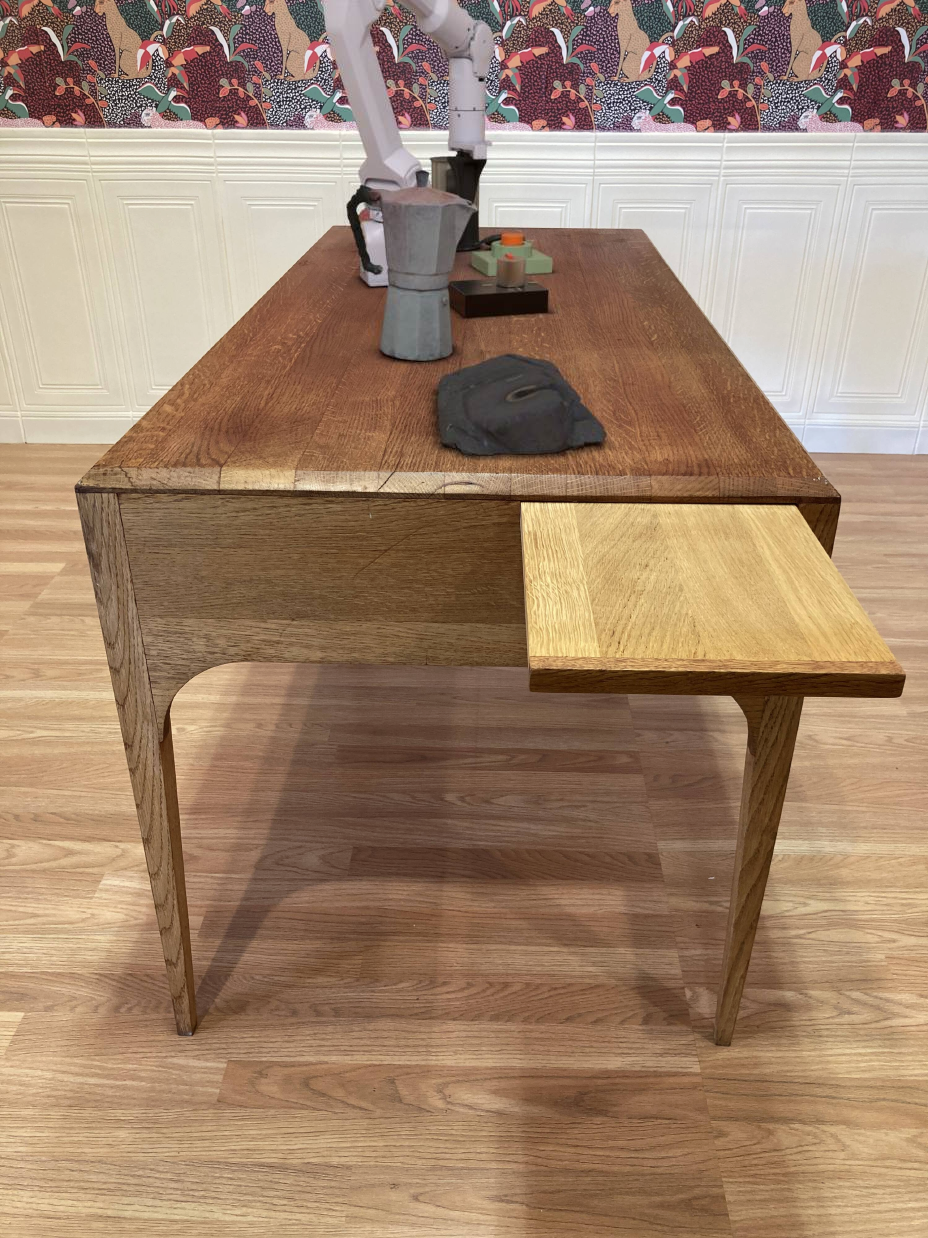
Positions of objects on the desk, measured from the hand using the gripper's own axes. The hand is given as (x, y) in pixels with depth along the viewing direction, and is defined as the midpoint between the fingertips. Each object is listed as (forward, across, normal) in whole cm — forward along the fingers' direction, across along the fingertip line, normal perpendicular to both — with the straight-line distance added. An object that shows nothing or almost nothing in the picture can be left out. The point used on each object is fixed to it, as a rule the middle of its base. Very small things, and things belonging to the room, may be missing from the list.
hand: (466, 203), depth 157 cm
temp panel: (+9, -31, +5) cm, 33 cm away
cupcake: (+10, +20, +10) cm, 24 cm away
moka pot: (+10, -50, +22) cm, 55 cm away
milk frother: (+10, +13, -6) cm, 17 cm away
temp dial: (+6, -31, +3) cm, 32 cm away
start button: (+6, -6, -6) cm, 10 cm away
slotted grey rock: (+10, -75, +18) cm, 78 cm away
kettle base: (+9, -6, -6) cm, 13 cm away
